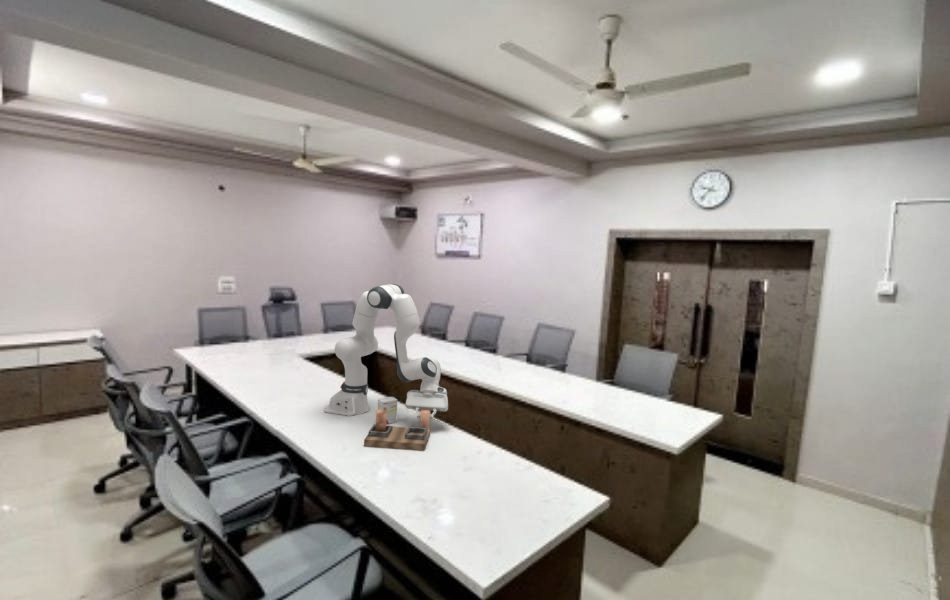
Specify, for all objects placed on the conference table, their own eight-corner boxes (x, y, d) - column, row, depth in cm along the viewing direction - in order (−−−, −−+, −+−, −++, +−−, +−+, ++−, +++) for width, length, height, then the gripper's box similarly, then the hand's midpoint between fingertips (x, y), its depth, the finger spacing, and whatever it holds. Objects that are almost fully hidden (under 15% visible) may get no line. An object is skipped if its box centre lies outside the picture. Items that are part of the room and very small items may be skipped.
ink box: (380, 425, 216) (381, 401, 215) (376, 422, 220) (377, 398, 219) (396, 422, 222) (397, 399, 220) (392, 419, 226) (393, 396, 224)
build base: (364, 446, 193) (364, 416, 192) (374, 431, 209) (375, 404, 208) (424, 450, 192) (425, 421, 191) (429, 435, 208) (431, 408, 207)
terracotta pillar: (418, 433, 210) (419, 412, 209) (420, 429, 215) (421, 408, 214) (428, 433, 210) (429, 413, 209) (430, 429, 214) (431, 409, 213)
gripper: (407, 386, 218) (402, 413, 209) (449, 389, 217) (446, 416, 208) (408, 392, 222) (403, 419, 214) (449, 395, 222) (446, 422, 213)
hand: (425, 417), depth 211 cm, fingers closed on terracotta pillar, 5 cm apart
